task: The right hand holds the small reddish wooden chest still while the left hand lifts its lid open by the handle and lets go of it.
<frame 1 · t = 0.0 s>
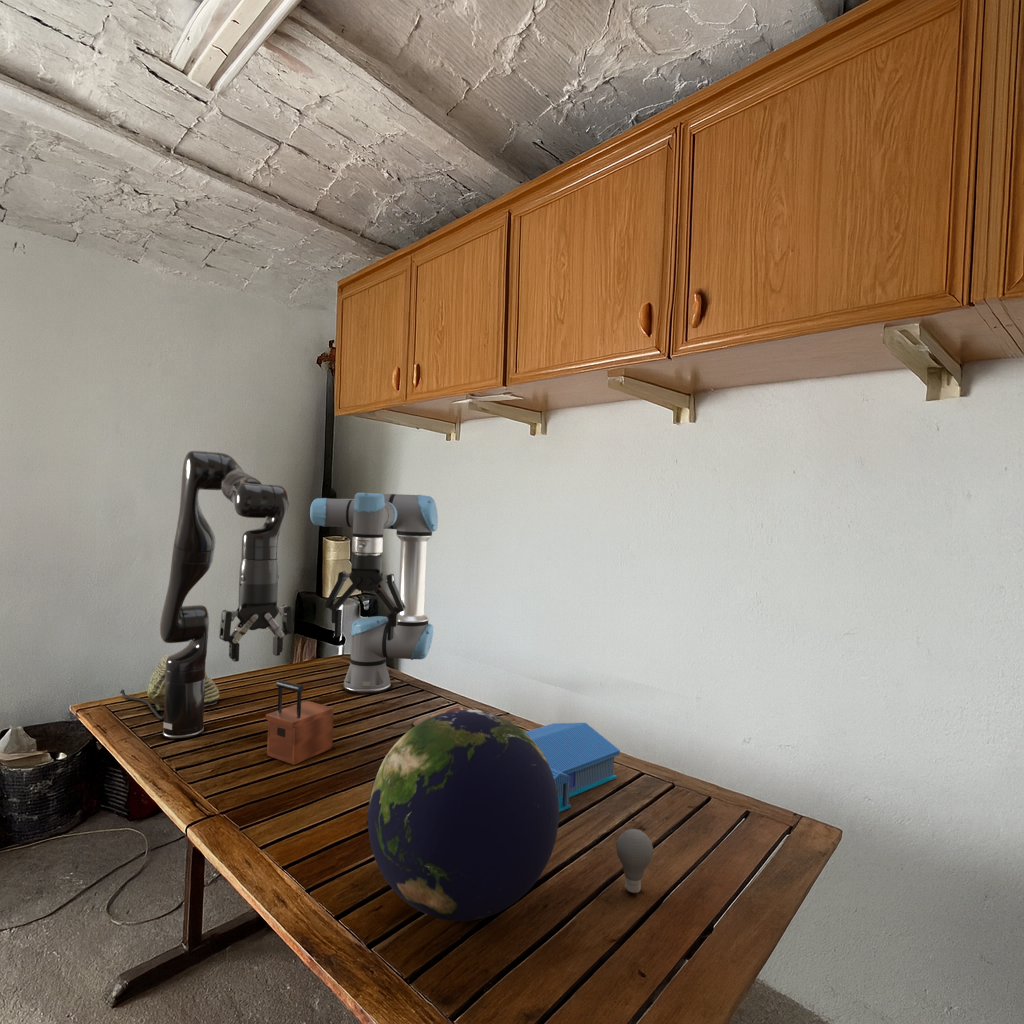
left hand: (256, 657, 132), 29 cm above the table, tool pointing down, fingers open, 8 cm apart
right hand: (363, 637, 160), 28 cm above the table, tool pointing down, fingers open, 13 cm apart
anatomical model: (438, 724, 179), on the table
chest: (300, 751, 156), on the table
fossil: (183, 706, 185), on the table
globe: (460, 903, 101), on the table
light bulb: (632, 891, 106), on the table
lid: (301, 697, 156), point 14 cm above the table, hinge at 0.0°
model building: (530, 787, 143), on the table
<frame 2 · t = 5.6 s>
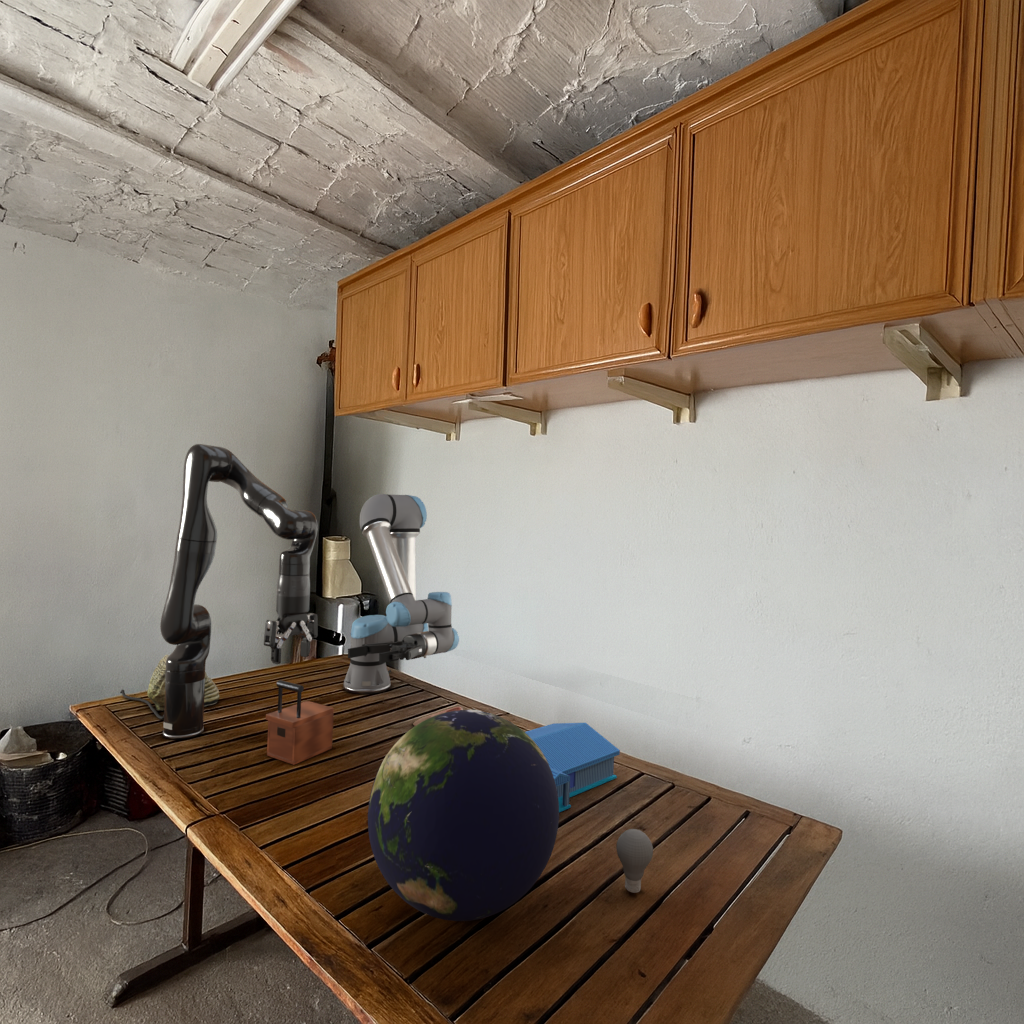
left hand: (290, 659, 152), 24 cm above the table, tool pointing down, fingers open, 8 cm apart
right hand: (363, 656, 179), 18 cm above the table, tool horizontal, fingers open, 13 cm apart
nothing on the table moved.
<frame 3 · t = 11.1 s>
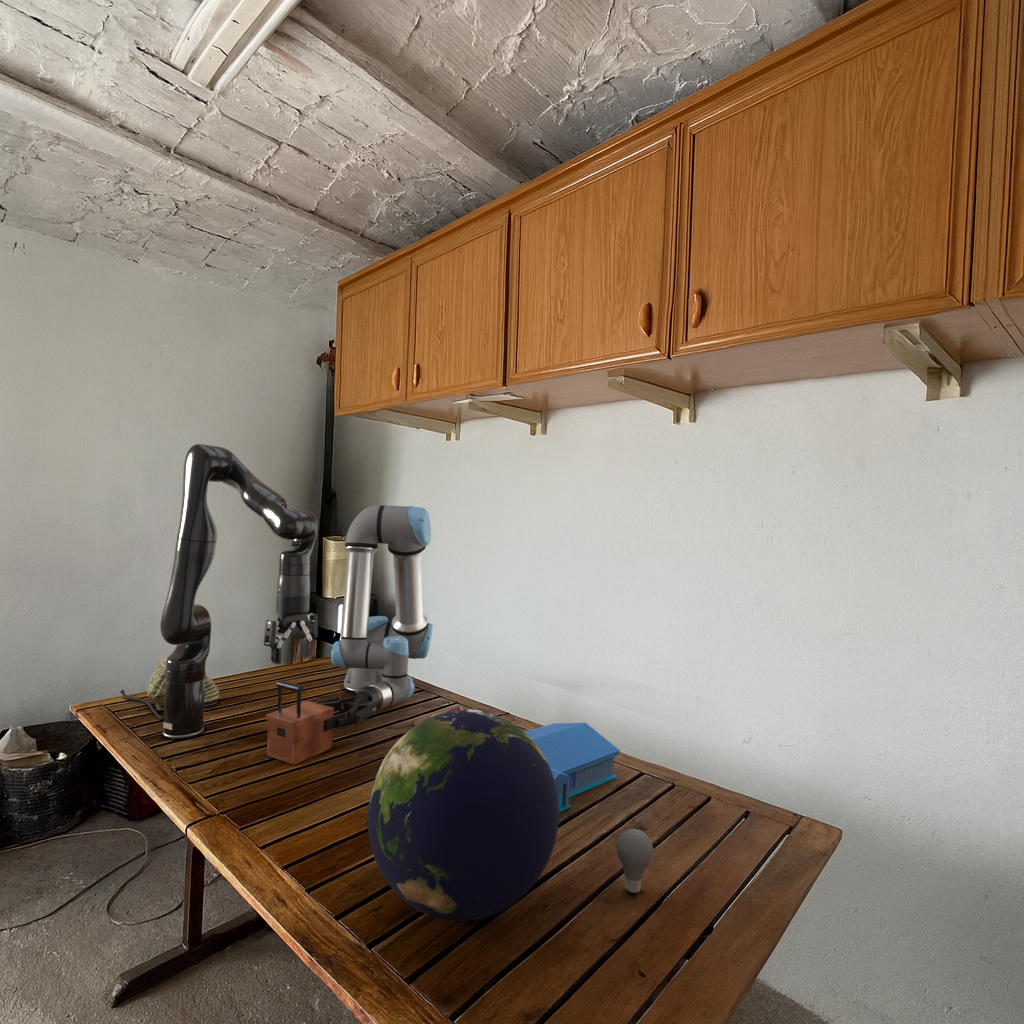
left hand: (290, 659, 152), 24 cm above the table, tool pointing down, fingers open, 8 cm apart
right hand: (310, 721, 159), 7 cm above the table, tool horizontal, fingers closed on chest, 9 cm apart
chest: (300, 751, 156), on the table, touching right hand
everything else where it was.
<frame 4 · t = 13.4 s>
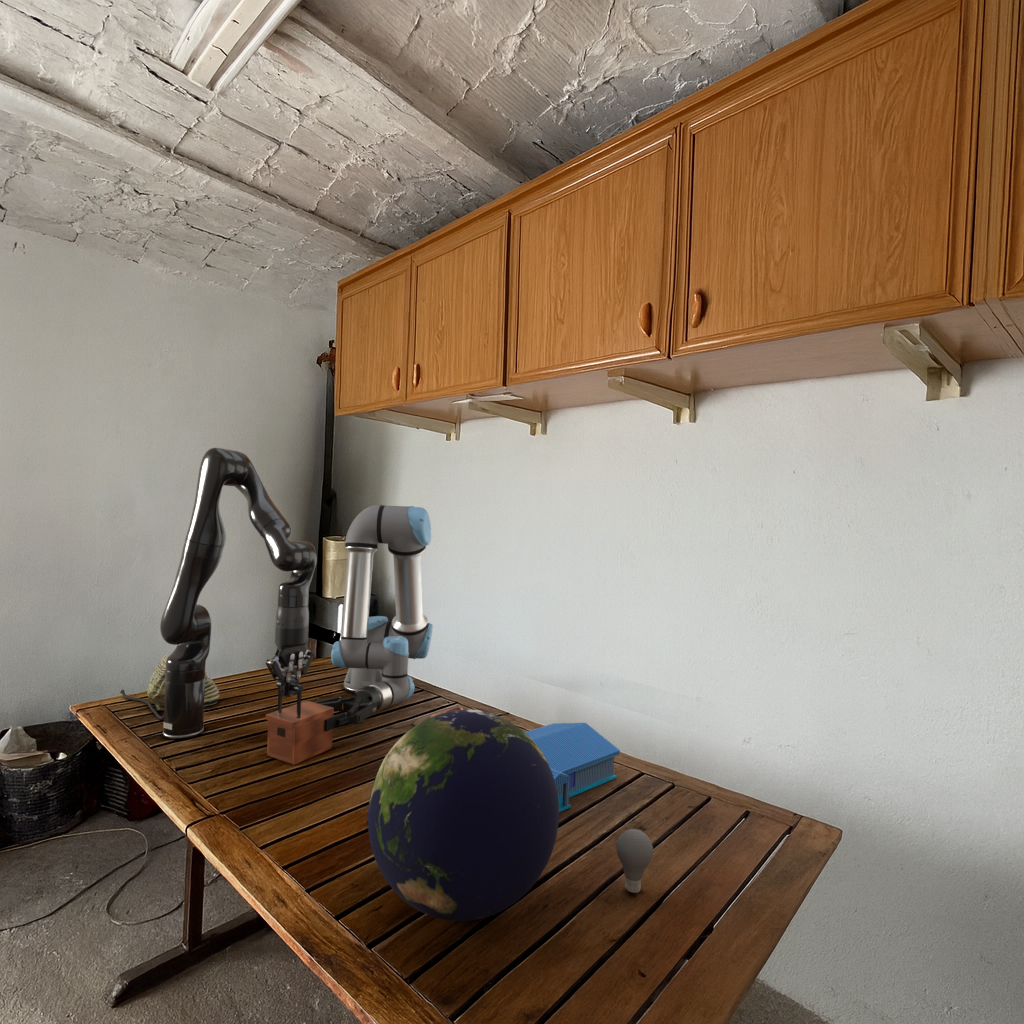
left hand: (289, 695, 153), 15 cm above the table, tool pointing down, fingers closed on lid
right hand: (310, 721, 159), 7 cm above the table, tool horizontal, fingers closed on chest, 9 cm apart
chest: (300, 751, 156), on the table, touching right hand
lid: (300, 697, 156), point 14 cm above the table, hinge at -0.1°, touching left hand
everything else where it was.
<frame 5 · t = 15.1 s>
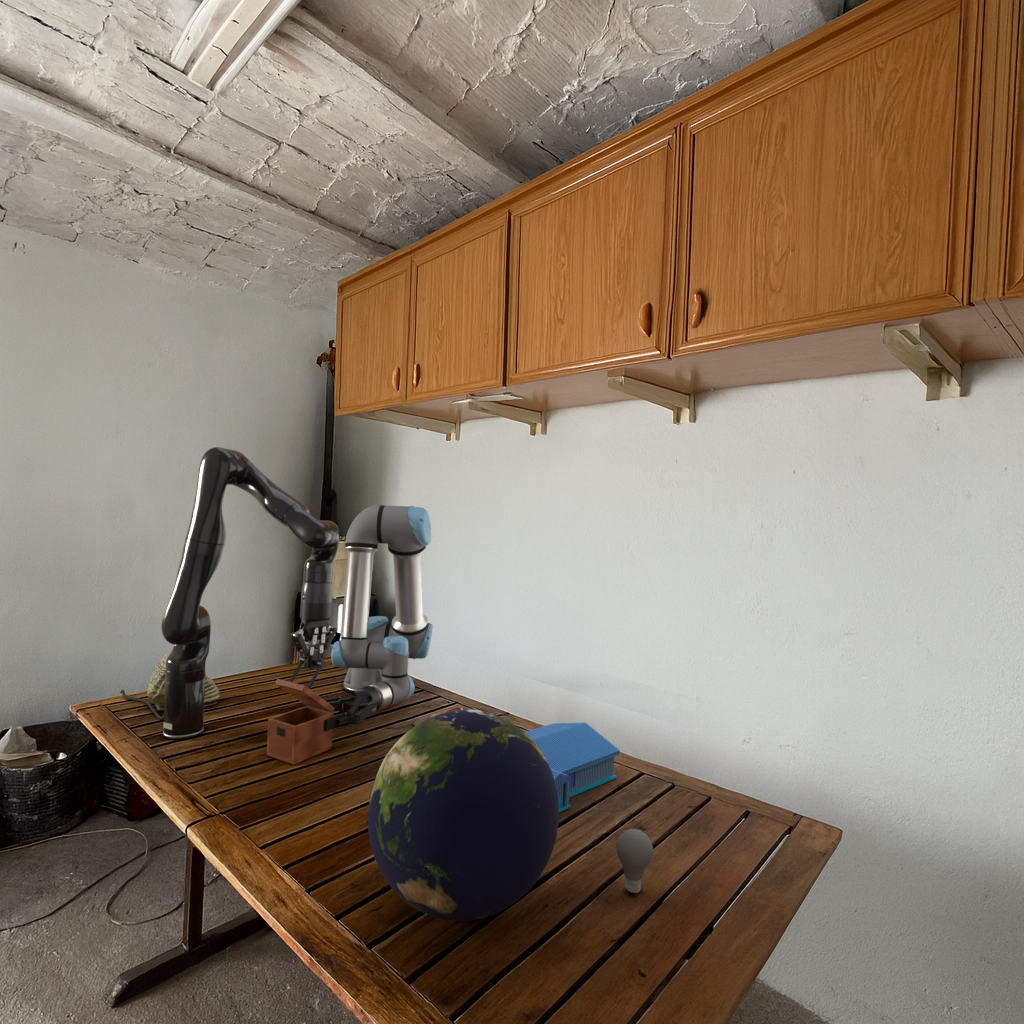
left hand: (312, 668, 159), 20 cm above the table, tool pointing down, fingers closed on lid
right hand: (310, 721, 159), 7 cm above the table, tool horizontal, fingers closed on chest, 9 cm apart
chest: (299, 751, 156), on the table, touching right hand
lid: (313, 681, 159), point 17 cm above the table, hinge at 38.3°, touching left hand
everything else where it was.
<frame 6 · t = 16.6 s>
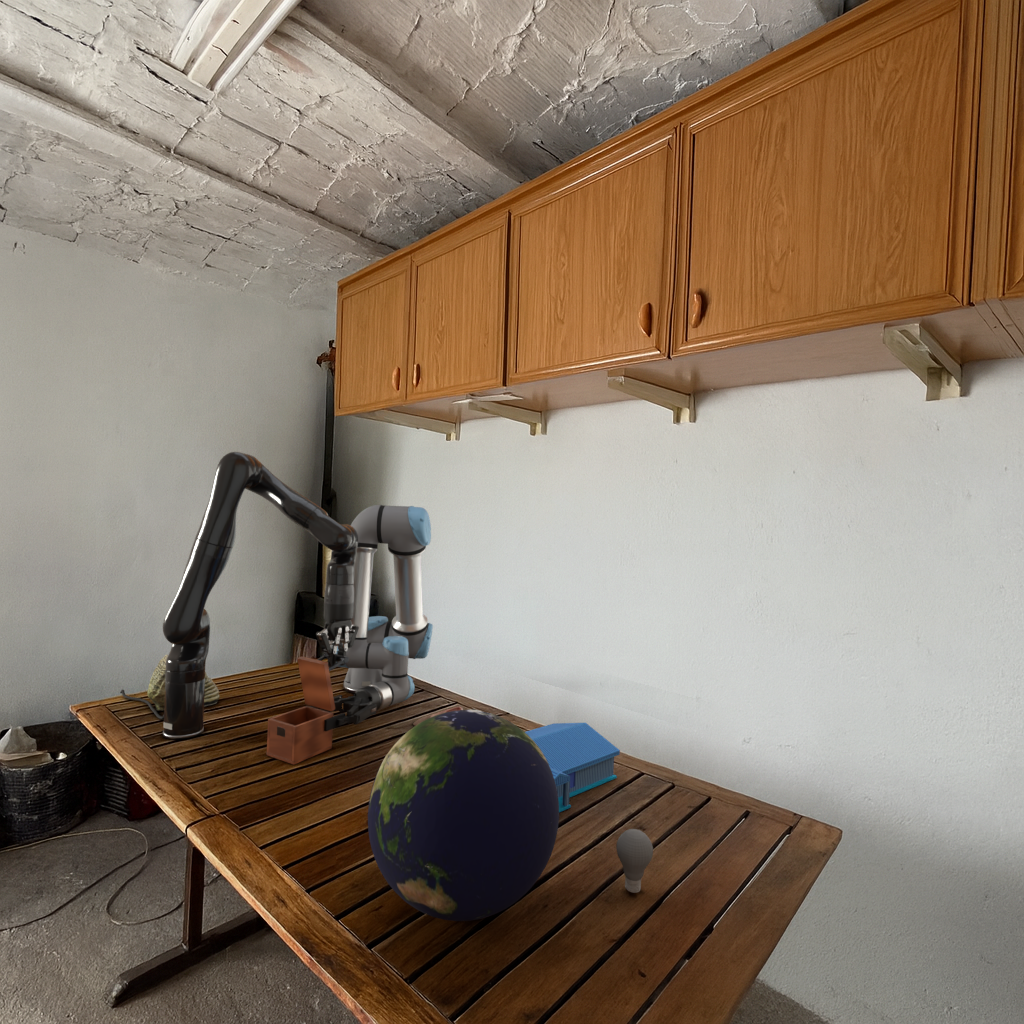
left hand: (336, 666, 166), 19 cm above the table, tool pointing down, fingers closed
right hand: (310, 721, 159), 7 cm above the table, tool horizontal, fingers closed on chest, 9 cm apart
chest: (299, 751, 156), on the table, touching right hand
lid: (327, 676, 163), point 17 cm above the table, hinge at 75.4°
everything else where it was.
when the right hand's fingers open (7 cm above the table, at t = 20.7 s): chest stays where it is, on the table.
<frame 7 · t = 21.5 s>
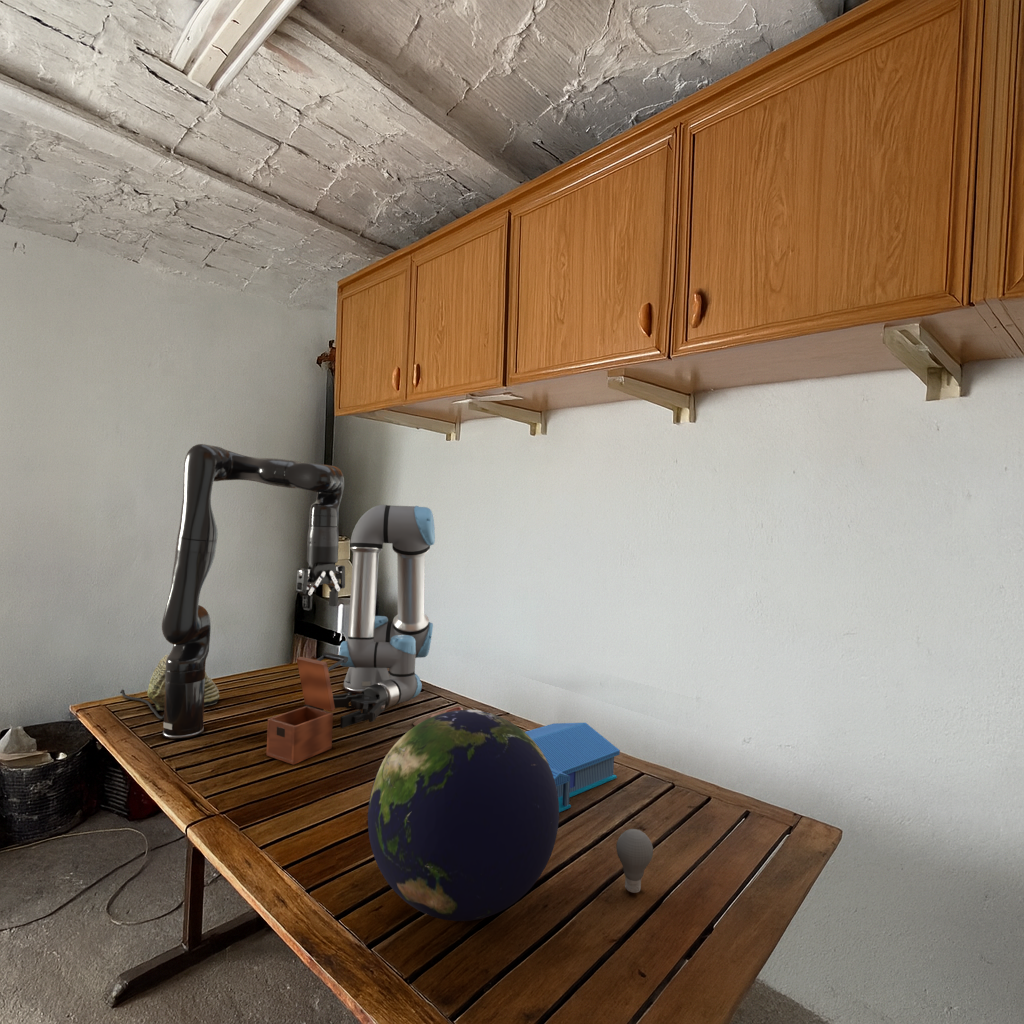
left hand: (320, 607, 160), 35 cm above the table, tool pointing down, fingers open, 8 cm apart
right hand: (322, 717, 162), 7 cm above the table, tool horizontal, fingers open, 13 cm apart
chest: (299, 751, 156), on the table
lid: (327, 676, 163), point 17 cm above the table, hinge at 74.8°
everything else where it was.
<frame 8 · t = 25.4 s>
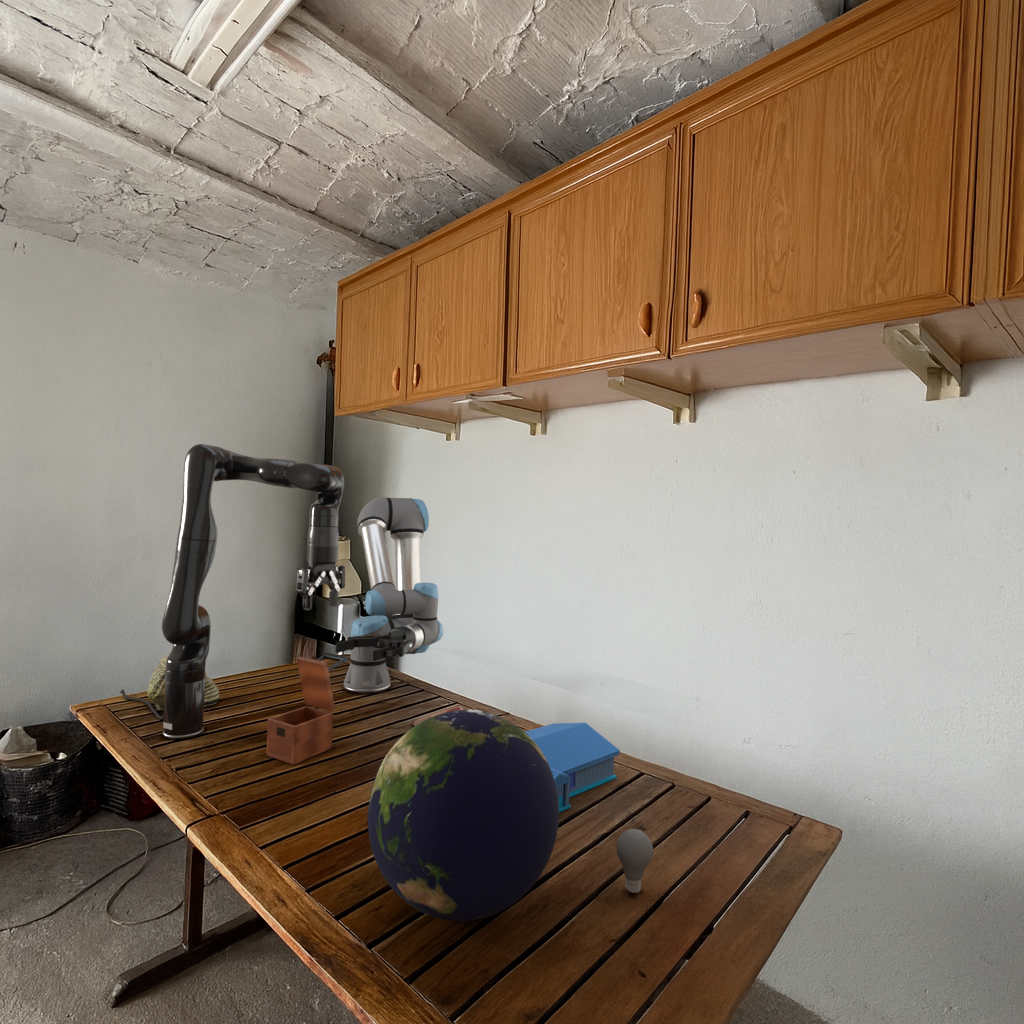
left hand: (320, 607, 160), 35 cm above the table, tool pointing down, fingers open, 8 cm apart
right hand: (354, 651, 172), 21 cm above the table, tool horizontal, fingers open, 13 cm apart
nothing on the table moved.
at the end: lid at +75° (first picture: +0°); the left hand is holding nothing; the right hand is holding nothing; chest tilted 0°; chest never tilted more than 1° during the clip; chest moved 0.1 cm from its start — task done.
